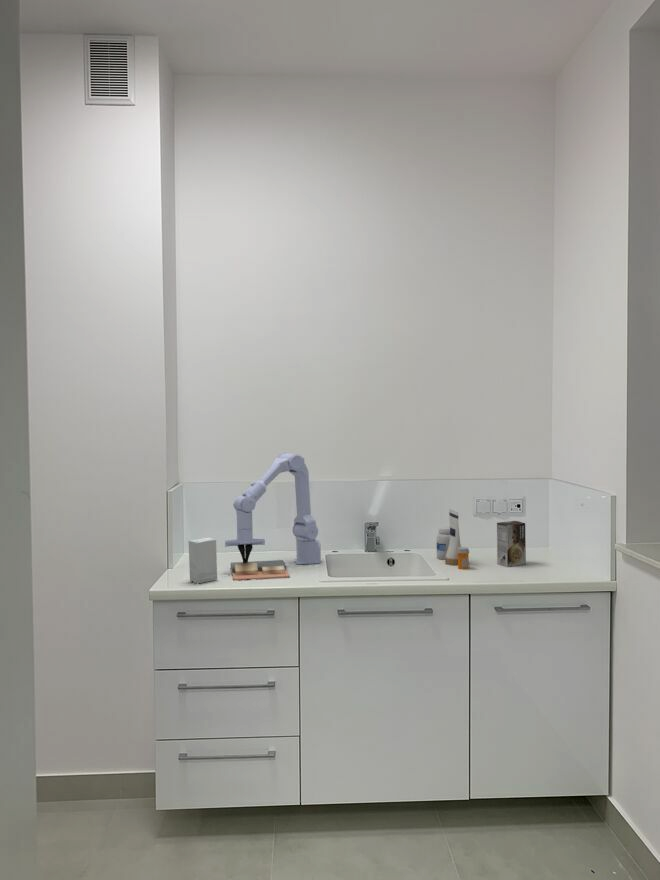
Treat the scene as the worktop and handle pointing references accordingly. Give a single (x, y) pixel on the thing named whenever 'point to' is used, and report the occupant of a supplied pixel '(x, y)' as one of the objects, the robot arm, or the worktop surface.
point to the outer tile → (246, 568)
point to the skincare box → (202, 560)
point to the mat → (260, 576)
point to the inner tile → (273, 570)
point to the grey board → (262, 564)
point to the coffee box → (511, 543)
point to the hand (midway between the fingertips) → (245, 564)
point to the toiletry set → (452, 544)
